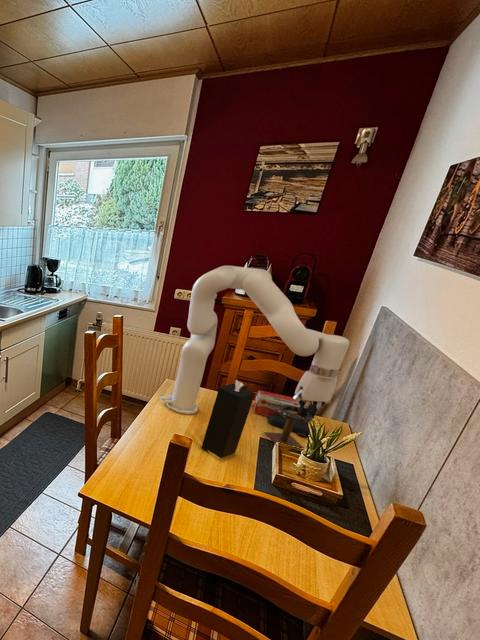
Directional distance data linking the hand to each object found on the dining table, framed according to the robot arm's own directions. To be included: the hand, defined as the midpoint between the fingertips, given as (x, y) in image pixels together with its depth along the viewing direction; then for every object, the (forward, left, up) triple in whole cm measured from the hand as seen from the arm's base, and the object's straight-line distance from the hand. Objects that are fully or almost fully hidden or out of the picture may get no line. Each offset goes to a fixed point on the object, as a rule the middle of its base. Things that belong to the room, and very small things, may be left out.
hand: (305, 416), depth 141 cm
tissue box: (-32, -9, -12) cm, 36 cm away
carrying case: (+5, +11, -12) cm, 17 cm away
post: (-4, 0, -12) cm, 13 cm away
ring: (-4, 0, +1) cm, 4 cm away
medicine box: (+5, +22, -12) cm, 26 cm away
